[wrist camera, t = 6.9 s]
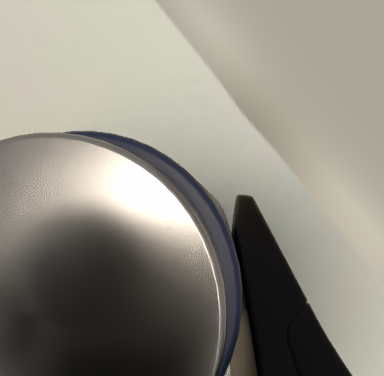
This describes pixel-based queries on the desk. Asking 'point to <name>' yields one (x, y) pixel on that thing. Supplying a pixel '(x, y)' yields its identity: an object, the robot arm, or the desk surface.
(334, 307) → the desk surface
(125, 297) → the can
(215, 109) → the desk surface
